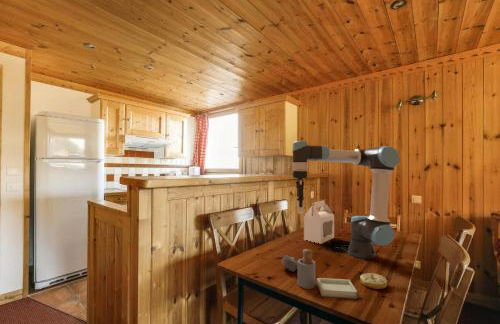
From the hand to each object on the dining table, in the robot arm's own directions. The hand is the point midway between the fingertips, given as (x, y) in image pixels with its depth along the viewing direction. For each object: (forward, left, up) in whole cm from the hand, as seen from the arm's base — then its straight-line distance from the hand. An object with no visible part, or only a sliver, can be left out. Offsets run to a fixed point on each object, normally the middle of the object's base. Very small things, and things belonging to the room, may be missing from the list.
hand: (300, 211), depth 127 cm
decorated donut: (-31, +14, -30) cm, 45 cm away
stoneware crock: (-1, +18, -29) cm, 34 cm away
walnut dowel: (-1, +18, -29) cm, 34 cm away
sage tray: (-13, +22, -29) cm, 39 cm away
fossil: (+5, +4, -30) cm, 30 cm away
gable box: (-19, -56, -30) cm, 66 cm away
